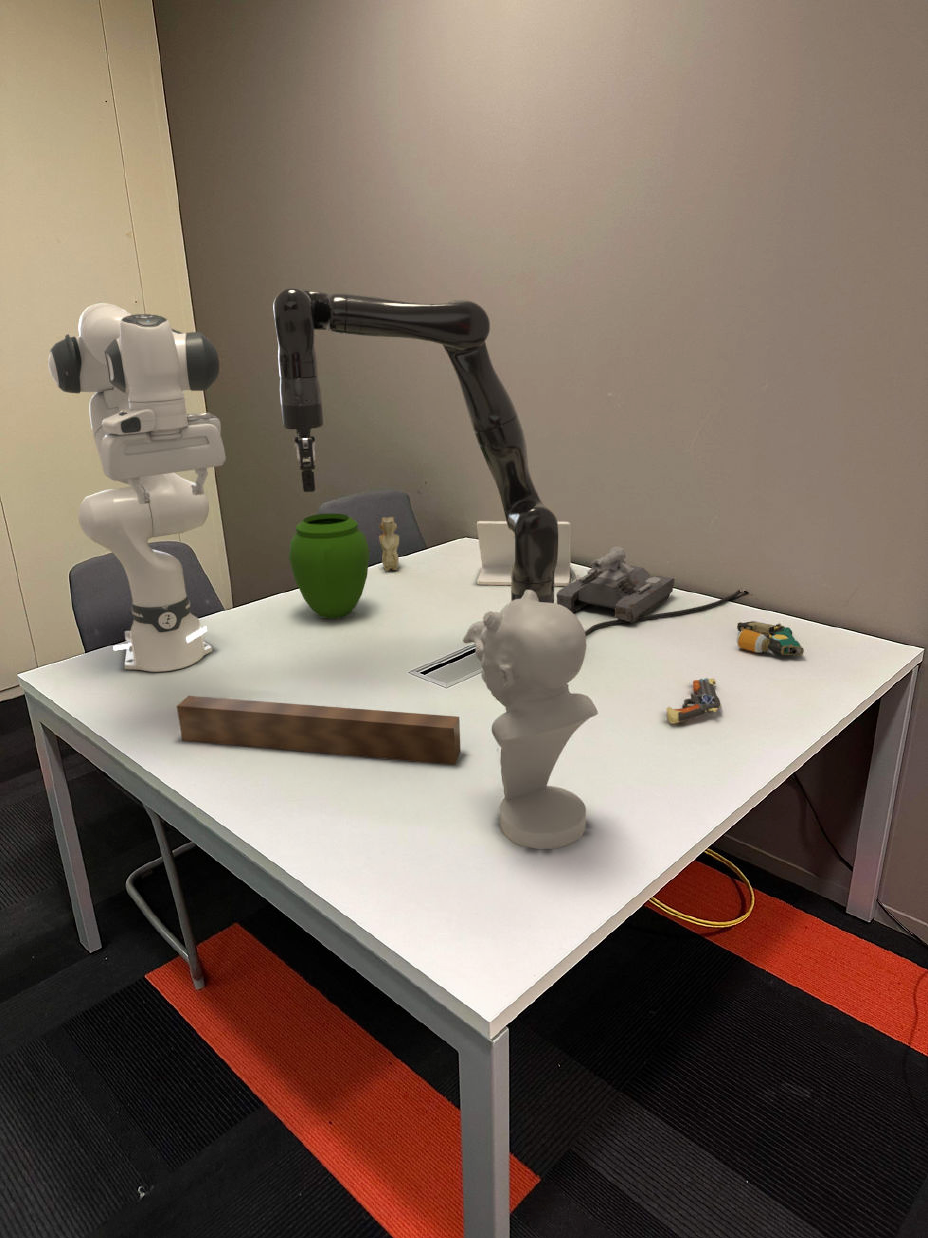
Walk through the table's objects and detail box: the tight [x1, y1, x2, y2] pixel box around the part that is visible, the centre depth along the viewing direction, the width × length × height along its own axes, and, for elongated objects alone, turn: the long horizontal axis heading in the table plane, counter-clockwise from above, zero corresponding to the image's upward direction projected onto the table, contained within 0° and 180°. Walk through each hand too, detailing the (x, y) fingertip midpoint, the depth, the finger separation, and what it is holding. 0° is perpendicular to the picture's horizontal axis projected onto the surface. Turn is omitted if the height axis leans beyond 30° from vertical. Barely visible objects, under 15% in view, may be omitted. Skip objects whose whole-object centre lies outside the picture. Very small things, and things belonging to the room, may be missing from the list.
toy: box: [556, 546, 676, 624], centre depth 212 cm, size 25×20×15 cm
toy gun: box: [666, 677, 722, 724], centre depth 161 cm, size 3×19×10 cm
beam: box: [176, 695, 461, 766], centre depth 149 cm, size 51×4×7 cm, turn 77°
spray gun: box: [736, 620, 805, 657], centre depth 187 cm, size 4×17×15 cm
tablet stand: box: [476, 520, 572, 587], centre depth 236 cm, size 18×25×17 cm
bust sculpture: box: [462, 590, 599, 850], centre depth 124 cm, size 16×24×35 cm
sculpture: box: [378, 516, 400, 572], centre depth 246 cm, size 6×7×15 cm
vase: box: [288, 512, 370, 620], centre depth 209 cm, size 20×20×24 cm
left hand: (172, 498), depth 148 cm, fingers open, 8 cm apart
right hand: (308, 487), depth 166 cm, fingers open, 8 cm apart
